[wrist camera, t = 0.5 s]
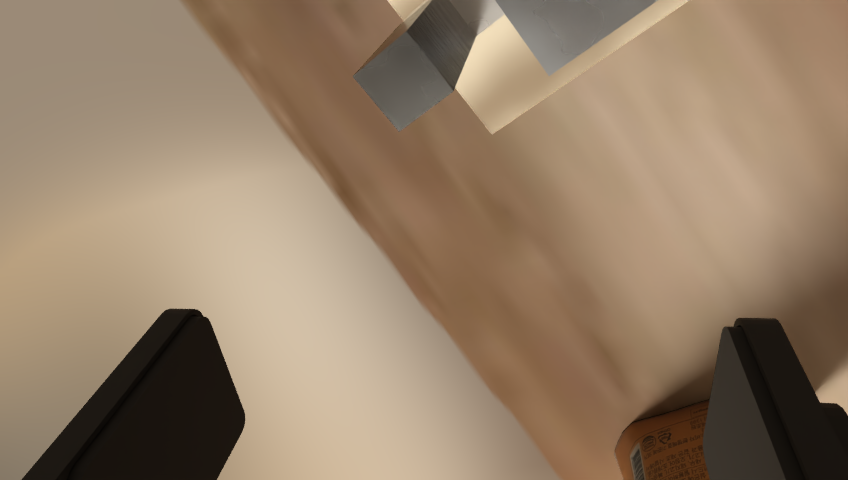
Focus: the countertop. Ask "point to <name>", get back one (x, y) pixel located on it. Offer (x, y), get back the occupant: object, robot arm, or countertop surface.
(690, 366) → the countertop surface
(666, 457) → the pancake mix bag
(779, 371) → the robot arm
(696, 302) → the countertop surface
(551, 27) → the metal block
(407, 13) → the board
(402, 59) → the l-shaped metal bar
